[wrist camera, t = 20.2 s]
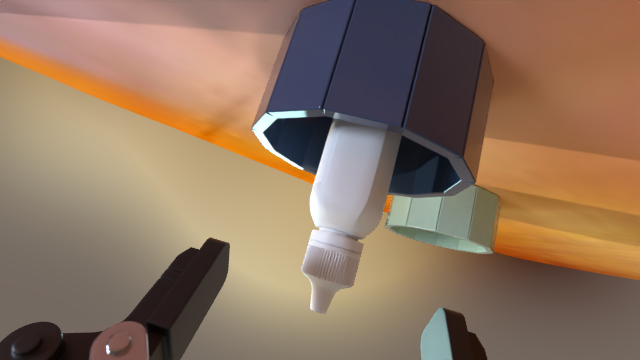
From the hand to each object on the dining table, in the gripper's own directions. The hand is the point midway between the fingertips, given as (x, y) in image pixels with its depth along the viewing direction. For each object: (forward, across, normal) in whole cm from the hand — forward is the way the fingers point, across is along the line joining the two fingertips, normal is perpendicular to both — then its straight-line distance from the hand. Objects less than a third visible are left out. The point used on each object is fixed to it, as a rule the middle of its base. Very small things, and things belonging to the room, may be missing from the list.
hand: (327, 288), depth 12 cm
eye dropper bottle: (+9, 0, -6) cm, 11 cm away
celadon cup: (+22, -11, +7) cm, 26 cm away
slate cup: (+9, 0, -6) cm, 11 cm away
